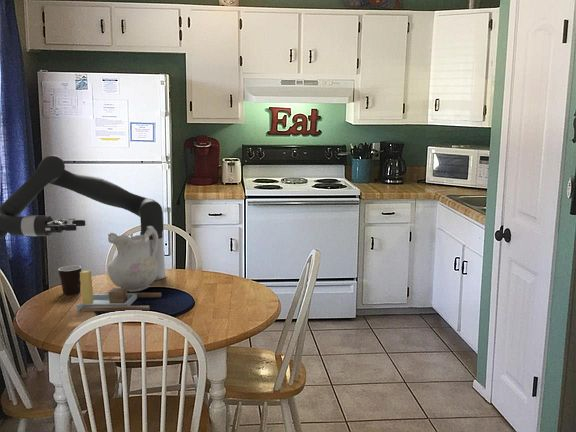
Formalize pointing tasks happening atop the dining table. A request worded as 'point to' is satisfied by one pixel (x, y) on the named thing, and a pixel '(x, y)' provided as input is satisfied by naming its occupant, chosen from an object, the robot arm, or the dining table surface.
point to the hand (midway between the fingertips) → (80, 225)
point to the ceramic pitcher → (134, 261)
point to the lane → (119, 308)
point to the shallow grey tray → (97, 299)
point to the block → (118, 295)
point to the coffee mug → (70, 279)
